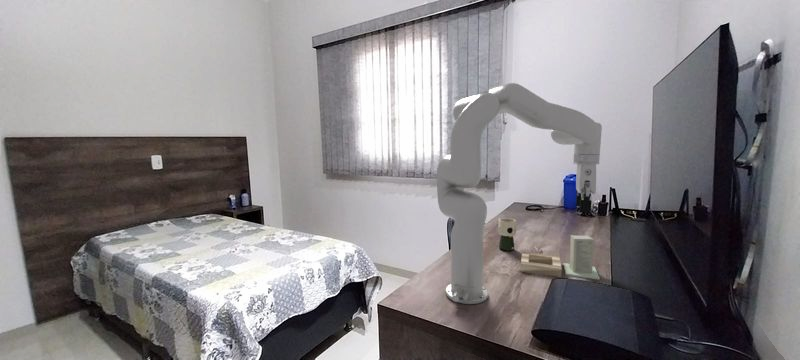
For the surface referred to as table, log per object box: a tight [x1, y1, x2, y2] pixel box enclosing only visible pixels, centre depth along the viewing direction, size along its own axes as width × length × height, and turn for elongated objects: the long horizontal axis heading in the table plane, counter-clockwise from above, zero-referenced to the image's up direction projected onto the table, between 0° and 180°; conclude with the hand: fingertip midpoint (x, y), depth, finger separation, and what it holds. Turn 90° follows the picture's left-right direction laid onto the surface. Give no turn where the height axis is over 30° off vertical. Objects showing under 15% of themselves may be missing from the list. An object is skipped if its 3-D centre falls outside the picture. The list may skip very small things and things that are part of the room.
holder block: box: [520, 251, 563, 278], centre depth 114 cm, size 13×13×3 cm
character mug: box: [497, 217, 517, 251], centre depth 133 cm, size 11×7×13 cm, turn 122°
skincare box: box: [569, 234, 595, 273], centre depth 109 cm, size 6×4×12 cm
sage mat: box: [563, 262, 601, 281], centre depth 110 cm, size 10×10×1 cm
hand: (583, 209), depth 107 cm, fingers open, 9 cm apart
